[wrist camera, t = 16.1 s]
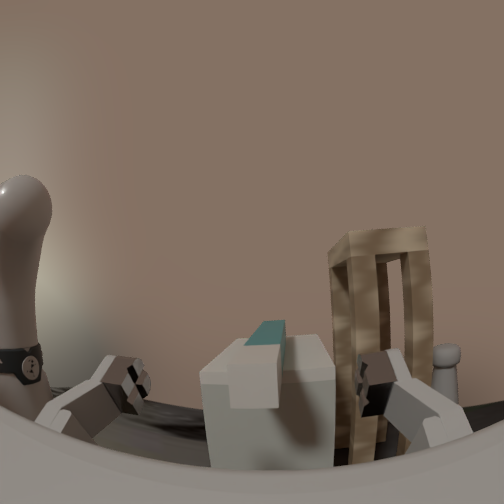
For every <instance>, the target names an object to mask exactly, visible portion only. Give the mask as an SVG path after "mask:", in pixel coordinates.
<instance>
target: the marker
mask: <svg viewBox="0 0 504 504" xmlns="http://www.w3.org/2000/svg"><path fill="white" fill-rule="evenodd" d="M285 346H286V332H285V320H277V321H264V322H263V323H262V324H261V325H260V327H259V328H258V329H257V330H256V331H255V332H254V334H253V335H252V336H251V337H250V338H249V339H248V340H247V342H246V343H245V344H244V345H243V346H242V347H241V349H240V350H239V351H238V352H237V353H236V354H235V356H234V357H233V358H232V359H231V360H230V361H229V362H228V364H227V374H228V386H229V397H230V408H235V409H259V408H279V401H280V393H281V384H282V375H283V366H284V356H285Z"/></svg>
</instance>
